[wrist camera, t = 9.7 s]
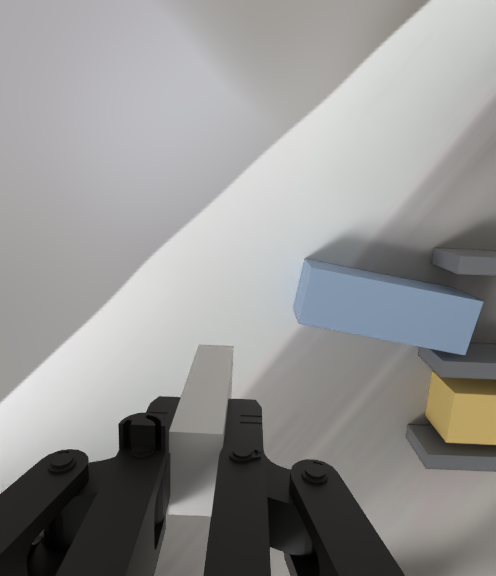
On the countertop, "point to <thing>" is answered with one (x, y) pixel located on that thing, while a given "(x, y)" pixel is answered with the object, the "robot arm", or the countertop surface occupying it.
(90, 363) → the countertop surface
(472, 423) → the bar ochre
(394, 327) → the bar blue
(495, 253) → the comb rack
